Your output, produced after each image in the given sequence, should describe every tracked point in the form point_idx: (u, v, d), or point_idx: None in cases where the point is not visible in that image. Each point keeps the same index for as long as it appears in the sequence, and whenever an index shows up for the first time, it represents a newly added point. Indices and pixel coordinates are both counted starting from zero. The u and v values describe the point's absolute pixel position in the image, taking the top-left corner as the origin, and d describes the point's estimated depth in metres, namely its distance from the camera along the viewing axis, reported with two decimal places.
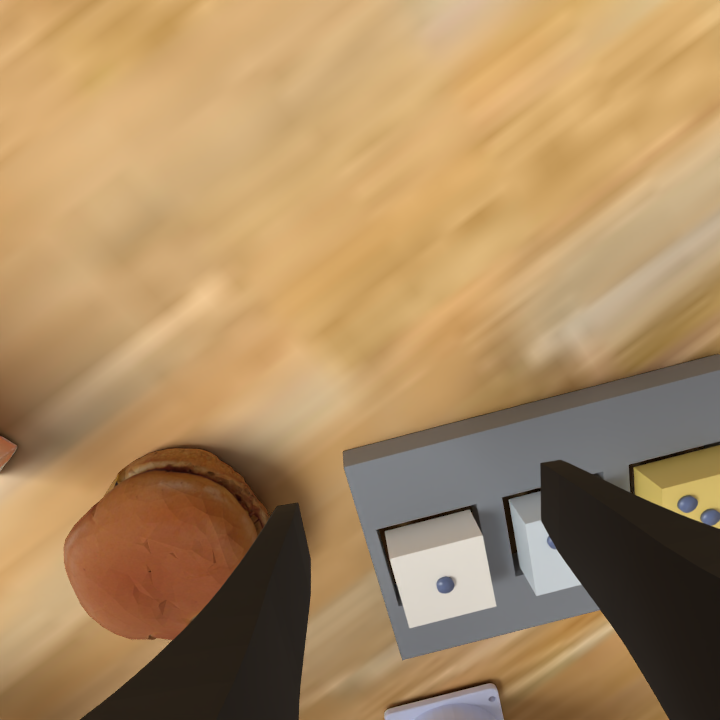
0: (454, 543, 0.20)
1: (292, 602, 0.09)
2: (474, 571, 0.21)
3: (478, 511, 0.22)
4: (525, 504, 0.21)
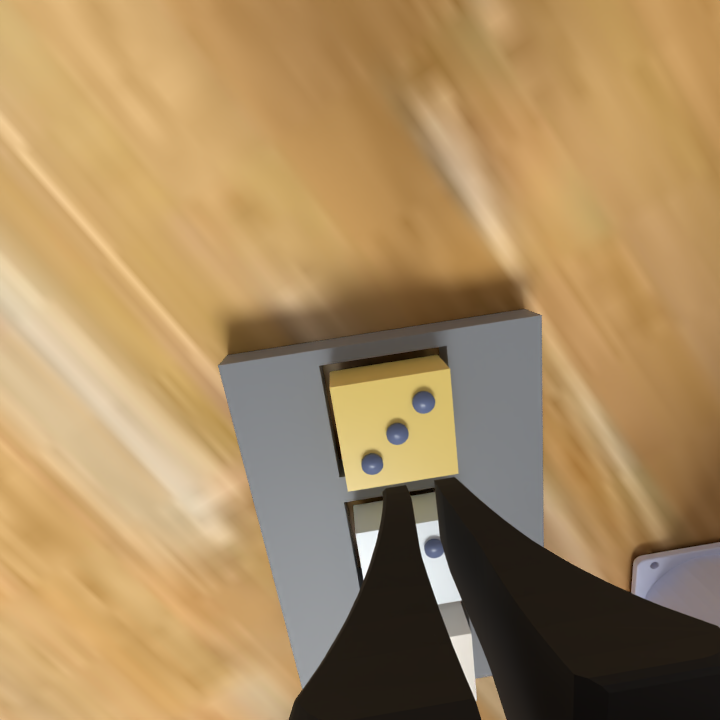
0: None
1: None
2: None
3: None
4: None
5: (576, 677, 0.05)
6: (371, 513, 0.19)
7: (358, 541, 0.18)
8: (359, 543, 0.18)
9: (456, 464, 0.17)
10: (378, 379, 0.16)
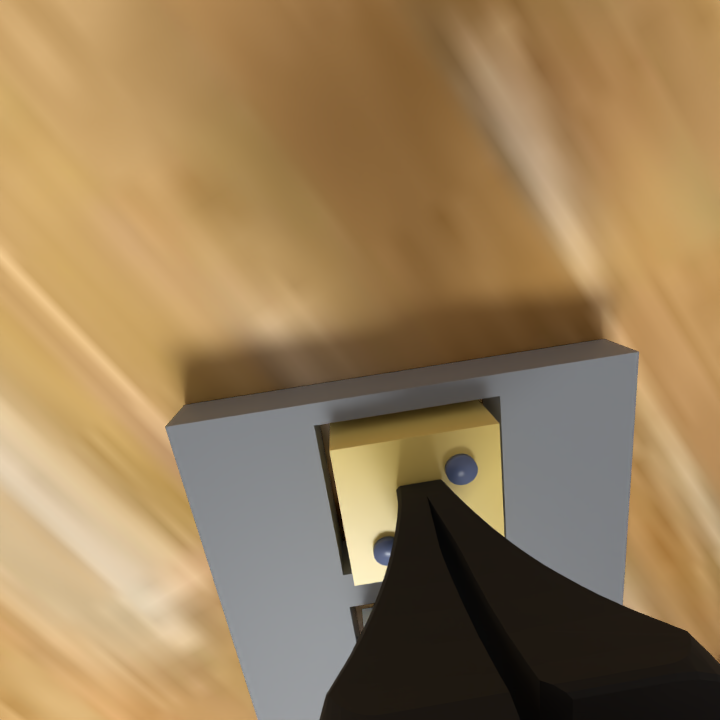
0: None
1: None
2: None
3: None
4: None
5: (542, 683, 0.05)
6: None
7: None
8: None
9: None
10: (398, 438, 0.11)
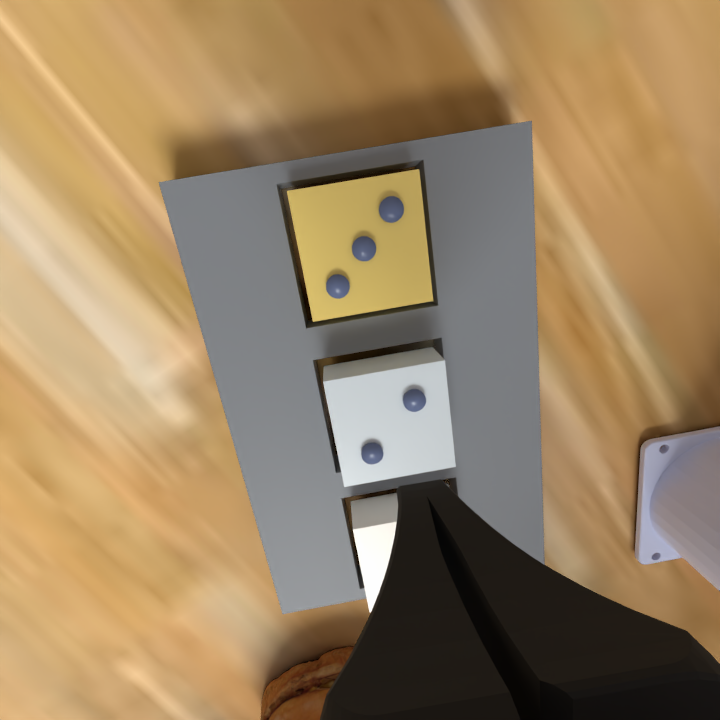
0: (359, 555, 0.18)
1: None
2: None
3: (352, 494, 0.19)
4: None
5: (542, 683, 0.05)
6: (343, 368, 0.17)
7: (326, 391, 0.16)
8: (328, 394, 0.16)
9: (430, 289, 0.16)
10: (340, 182, 0.14)
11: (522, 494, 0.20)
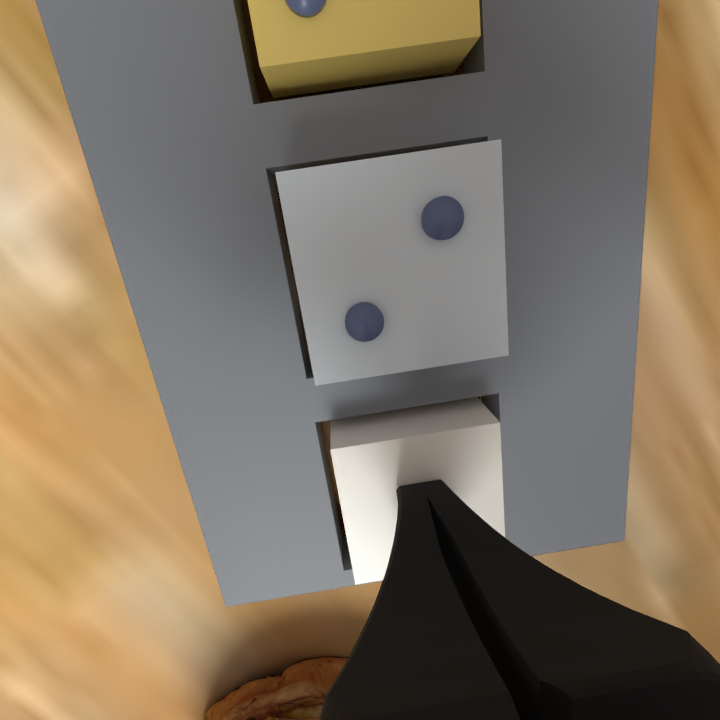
0: (340, 494, 0.12)
1: None
2: (408, 461, 0.11)
3: (334, 417, 0.12)
4: None
5: (542, 683, 0.05)
6: None
7: (282, 193, 0.09)
8: (285, 199, 0.09)
9: (477, 11, 0.09)
10: None
11: (600, 426, 0.13)
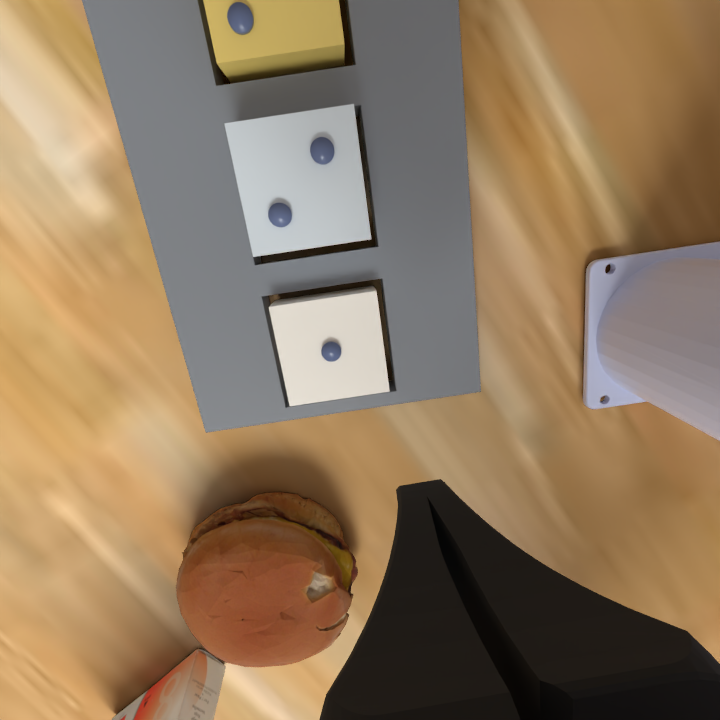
0: (276, 338, 0.18)
1: None
2: (319, 317, 0.18)
3: (274, 293, 0.19)
4: None
5: (542, 683, 0.05)
6: None
7: (229, 136, 0.15)
8: (230, 139, 0.15)
9: (341, 29, 0.15)
10: None
11: (454, 303, 0.19)
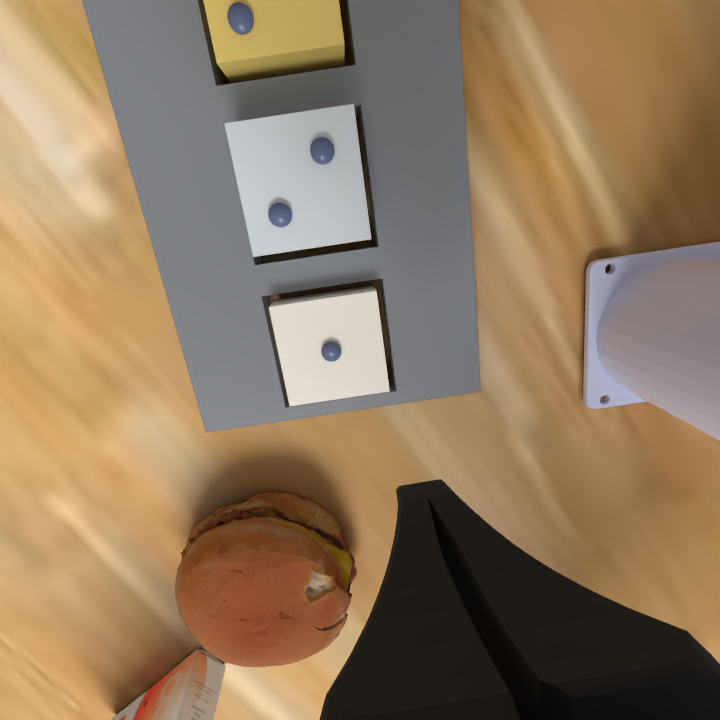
0: (276, 338, 0.18)
1: None
2: (319, 317, 0.18)
3: (274, 293, 0.19)
4: None
5: (542, 683, 0.05)
6: None
7: (229, 136, 0.15)
8: (230, 139, 0.15)
9: (341, 29, 0.15)
10: None
11: (454, 303, 0.19)
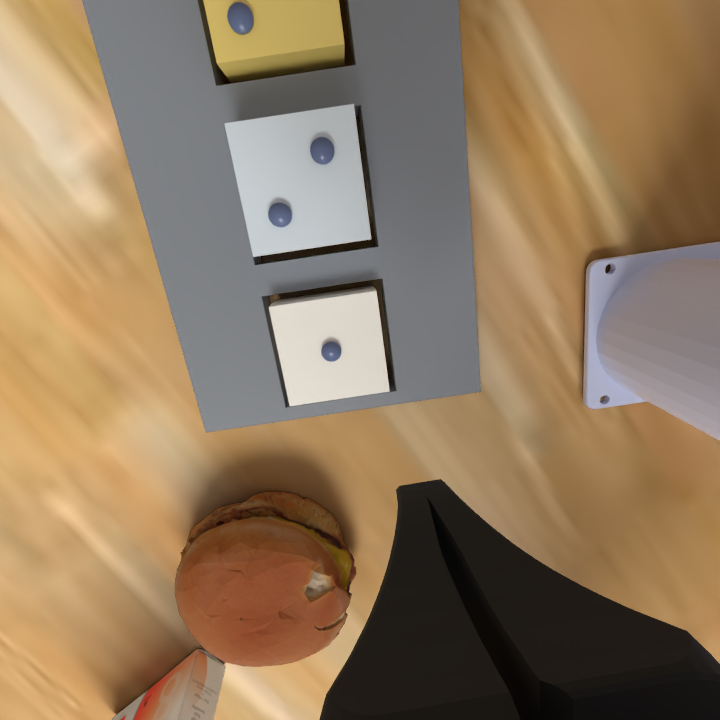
0: (276, 338, 0.18)
1: None
2: (319, 317, 0.18)
3: (274, 293, 0.19)
4: None
5: (542, 683, 0.05)
6: None
7: (229, 136, 0.15)
8: (230, 139, 0.15)
9: (341, 29, 0.15)
10: None
11: (454, 303, 0.19)
